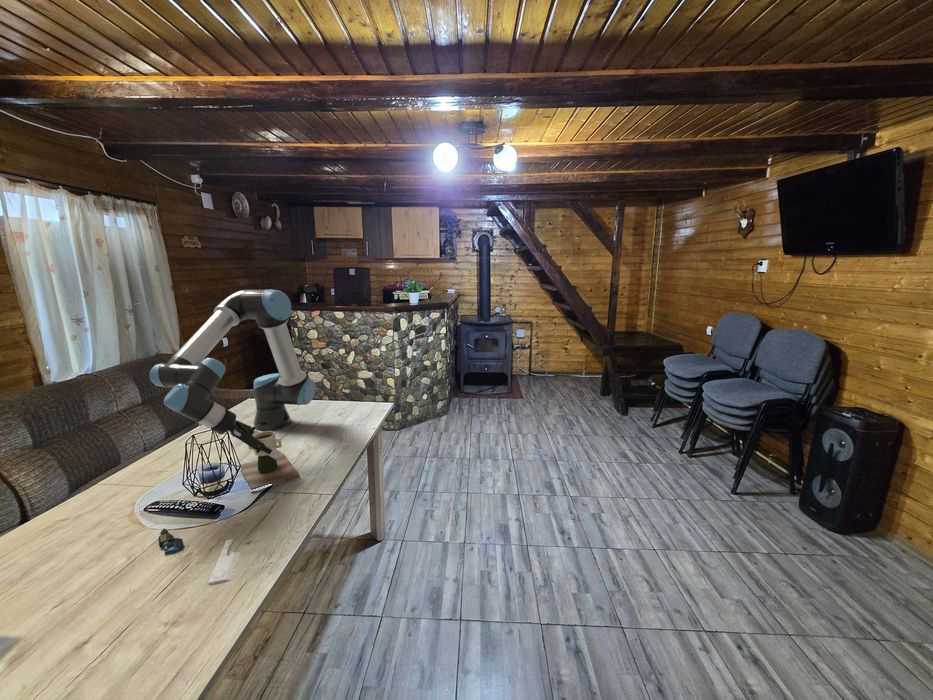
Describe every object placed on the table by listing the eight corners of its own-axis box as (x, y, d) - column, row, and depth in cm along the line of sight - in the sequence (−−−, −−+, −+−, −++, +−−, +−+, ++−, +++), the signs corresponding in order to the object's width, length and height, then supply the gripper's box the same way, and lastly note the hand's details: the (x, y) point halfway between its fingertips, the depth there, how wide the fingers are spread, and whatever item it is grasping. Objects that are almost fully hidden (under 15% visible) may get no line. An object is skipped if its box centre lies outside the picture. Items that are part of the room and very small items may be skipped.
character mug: (287, 463, 144) (283, 429, 141) (281, 473, 137) (276, 438, 135) (255, 465, 143) (251, 431, 140) (247, 475, 136) (242, 440, 133)
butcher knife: (247, 539, 107) (247, 536, 107) (232, 581, 93) (232, 577, 93) (226, 543, 106) (226, 539, 105) (208, 585, 92) (207, 581, 91)
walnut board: (239, 468, 144) (238, 465, 143) (283, 456, 153) (283, 452, 152) (251, 493, 128) (250, 488, 128) (299, 477, 137) (299, 473, 137)
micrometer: (183, 544, 103) (159, 553, 100) (184, 551, 103) (160, 559, 100) (179, 521, 112) (157, 528, 109) (180, 527, 112) (158, 534, 109)
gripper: (204, 417, 136) (257, 445, 149) (215, 441, 117) (275, 471, 129) (220, 399, 138) (271, 428, 151) (233, 420, 119) (290, 452, 132)
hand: (273, 448), depth 140 cm, fingers open, 13 cm apart
